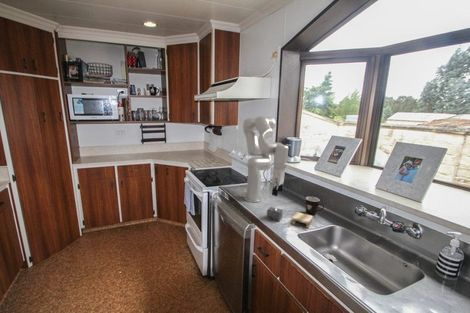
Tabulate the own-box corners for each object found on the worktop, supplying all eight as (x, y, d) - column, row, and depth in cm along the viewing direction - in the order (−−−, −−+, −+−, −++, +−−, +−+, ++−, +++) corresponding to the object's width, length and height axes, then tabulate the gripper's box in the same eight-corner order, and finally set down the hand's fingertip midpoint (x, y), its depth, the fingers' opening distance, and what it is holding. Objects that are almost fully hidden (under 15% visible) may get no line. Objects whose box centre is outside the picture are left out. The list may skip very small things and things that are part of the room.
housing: (266, 218, 147) (267, 208, 146) (269, 215, 152) (270, 205, 151) (278, 222, 143) (280, 212, 142) (281, 218, 148) (282, 209, 147)
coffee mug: (301, 211, 161) (303, 197, 159) (311, 210, 164) (313, 196, 162) (312, 218, 151) (314, 203, 149) (323, 217, 154) (325, 202, 152)
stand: (291, 223, 142) (292, 217, 141) (295, 217, 151) (296, 211, 150) (308, 228, 137) (309, 222, 137) (311, 222, 146) (312, 215, 145)
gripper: (278, 162, 150) (275, 188, 154) (269, 167, 135) (266, 196, 139) (290, 164, 147) (287, 190, 150) (281, 169, 132) (278, 198, 135)
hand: (277, 193), depth 144 cm, fingers open, 9 cm apart
